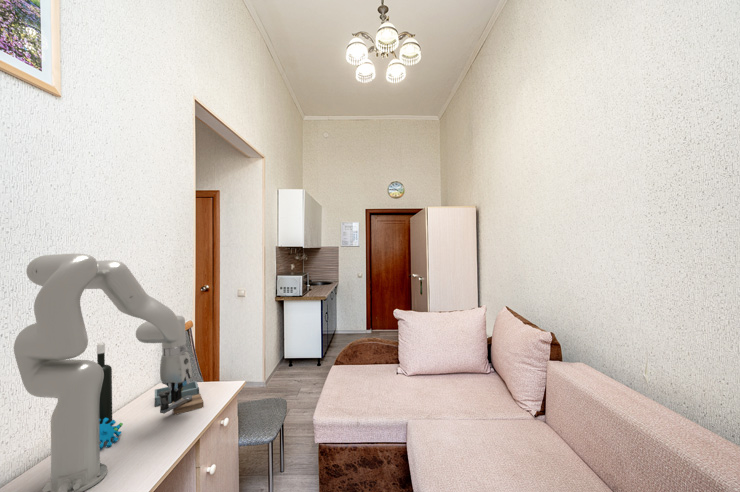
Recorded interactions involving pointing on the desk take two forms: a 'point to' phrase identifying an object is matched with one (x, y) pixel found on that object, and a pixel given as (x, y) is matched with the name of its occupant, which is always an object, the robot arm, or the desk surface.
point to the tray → (187, 390)
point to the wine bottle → (105, 386)
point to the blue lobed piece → (108, 432)
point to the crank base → (189, 405)
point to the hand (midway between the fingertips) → (176, 400)
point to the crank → (165, 403)
